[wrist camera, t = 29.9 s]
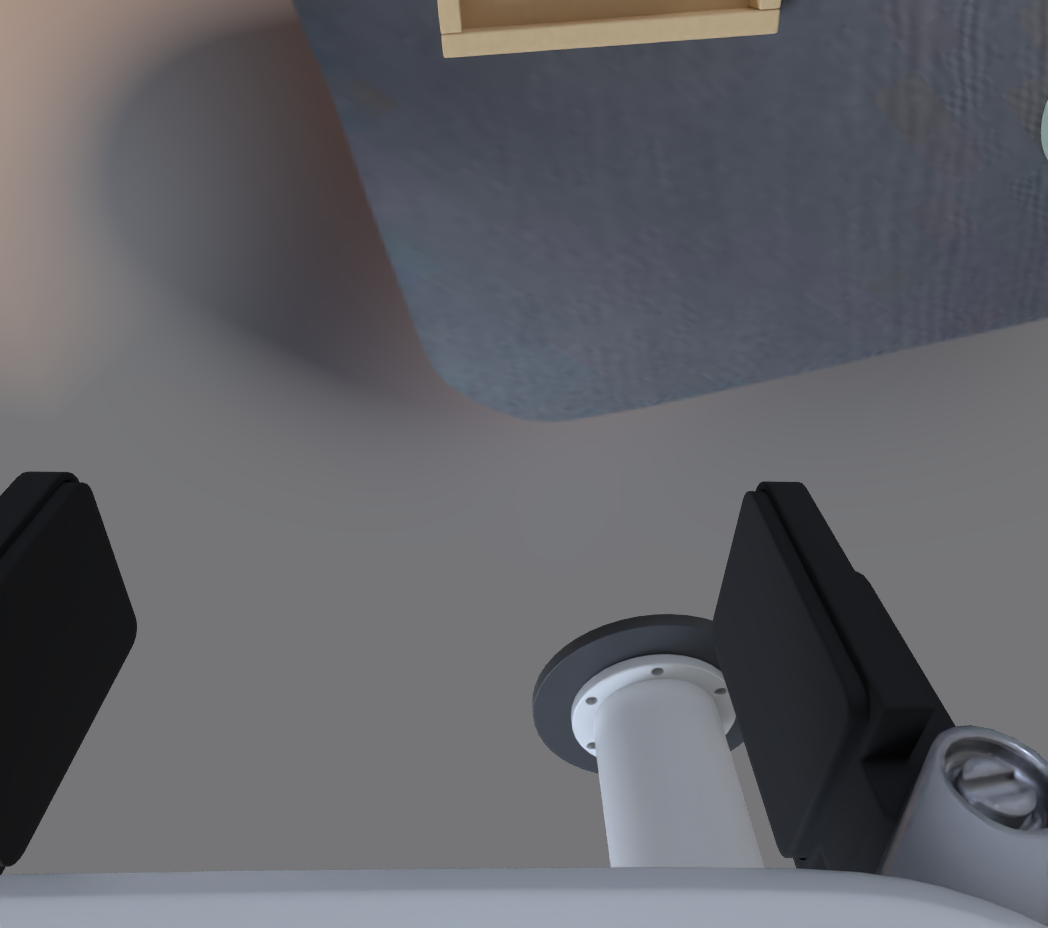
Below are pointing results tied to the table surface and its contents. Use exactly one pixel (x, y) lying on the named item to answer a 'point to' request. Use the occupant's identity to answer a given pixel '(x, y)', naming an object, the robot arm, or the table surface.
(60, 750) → the robot arm
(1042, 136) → the jam jar
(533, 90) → the table surface
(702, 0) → the tray
